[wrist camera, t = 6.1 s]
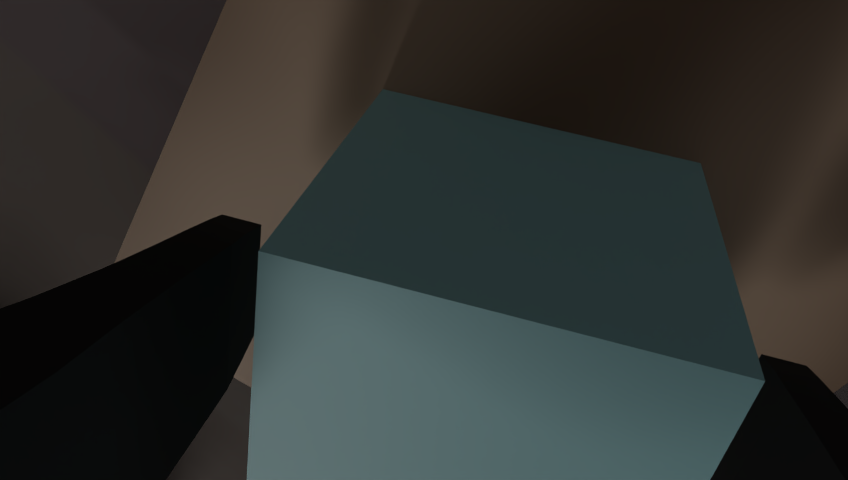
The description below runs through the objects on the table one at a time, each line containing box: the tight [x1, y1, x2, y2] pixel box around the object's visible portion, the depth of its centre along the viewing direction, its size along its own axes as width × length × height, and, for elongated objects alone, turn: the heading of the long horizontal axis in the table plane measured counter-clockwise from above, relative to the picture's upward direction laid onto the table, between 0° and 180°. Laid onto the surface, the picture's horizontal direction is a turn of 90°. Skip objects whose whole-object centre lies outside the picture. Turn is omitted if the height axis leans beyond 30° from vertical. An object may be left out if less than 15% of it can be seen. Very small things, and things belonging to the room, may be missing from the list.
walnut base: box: [115, 0, 848, 393], centre depth 14 cm, size 12×12×2 cm
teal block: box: [247, 89, 765, 480], centre depth 10 cm, size 5×5×5 cm
